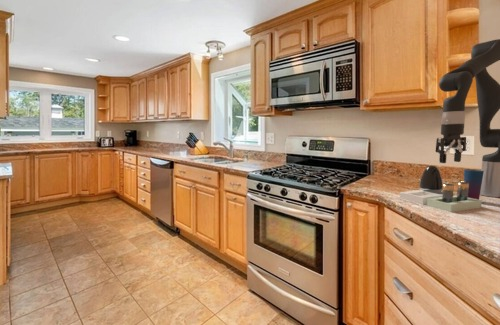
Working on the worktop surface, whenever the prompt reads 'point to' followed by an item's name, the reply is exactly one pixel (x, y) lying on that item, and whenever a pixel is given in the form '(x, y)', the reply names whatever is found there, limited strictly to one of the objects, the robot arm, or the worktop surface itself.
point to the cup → (473, 182)
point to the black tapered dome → (431, 179)
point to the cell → (447, 192)
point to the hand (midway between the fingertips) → (450, 162)
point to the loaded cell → (462, 191)
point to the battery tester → (420, 195)
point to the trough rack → (454, 204)
